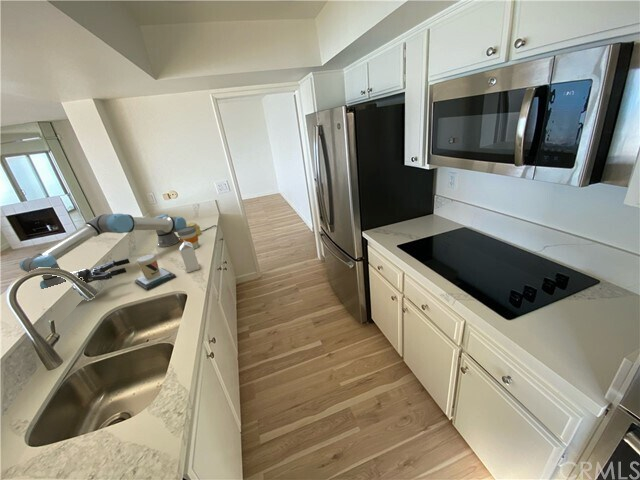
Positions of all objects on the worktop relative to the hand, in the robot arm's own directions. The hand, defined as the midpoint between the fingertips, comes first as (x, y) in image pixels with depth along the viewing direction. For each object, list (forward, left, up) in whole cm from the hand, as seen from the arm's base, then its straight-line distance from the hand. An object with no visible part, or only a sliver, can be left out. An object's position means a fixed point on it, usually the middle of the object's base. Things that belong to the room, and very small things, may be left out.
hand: (127, 265), depth 149 cm
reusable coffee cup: (-46, -20, -13) cm, 52 cm away
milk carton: (-28, +15, -13) cm, 34 cm away
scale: (-9, +6, -13) cm, 17 cm away
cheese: (-60, -45, -13) cm, 76 cm away
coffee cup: (-9, +4, -11) cm, 14 cm away
